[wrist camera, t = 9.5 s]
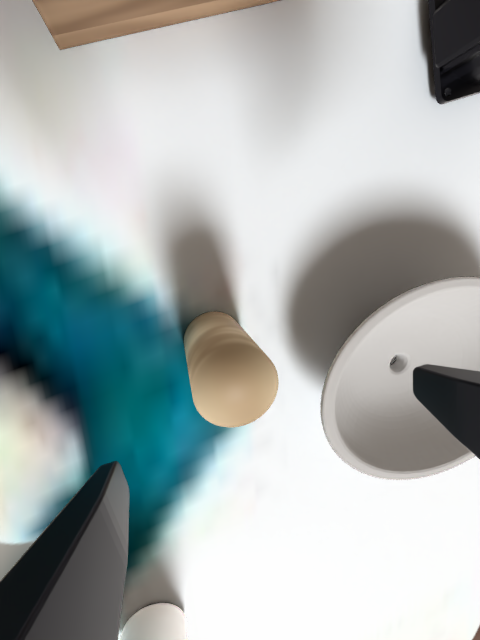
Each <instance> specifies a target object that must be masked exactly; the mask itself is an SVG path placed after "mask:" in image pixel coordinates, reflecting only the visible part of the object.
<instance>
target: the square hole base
mask: <svg viewBox="0 0 480 640" xmlns="http://www.w3.org/2000/svg"><path fill="white" fill-rule="evenodd" d="M32 1H33V2H34V4H35V6H36V8H37V10H38V11H39V13H40V15H41V17H42V19H43V20H44V22H45V24H46V26H47V28H48V29H49V31H50V33H51V35H52V37H53V38H54V40H55V42H56V44H57V46H58V47H59V49H60V50H61V49H66V48H70V47H75V46H79V45H84V44H88V43H93V42H97V41H102V40H106V39H111V38H115V37H120V36H124V35H128V34H133V33H137V32H142V31H146V30H151V29H155V28H160V27H164V26H169V25H173V24H178V23H182V22H187V21H191V20H195V19H200V18H204V17H209V16H213V15H218V14H222V13H227V12H231V11H236V10H240V9H245V8H249V7H253V6H258V5H262V4H267V3H271V2H276V1H280V0H32Z"/></svg>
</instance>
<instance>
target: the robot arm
mask: <svg viewBox="0 0 480 640" xmlns="http://www.w3.org/2000/svg"><path fill="white" fill-rule="evenodd" d="M428 2H429V15H430V28H431V41H432V54H433V67H434V80H435V94H436V100H437V102H438V103H439V104H445V103H448V102H451V101H455V100H458V99H461V98H465V97H468V96H471V95H474V94H478V93H480V0H428ZM445 94H446V95H445ZM413 393H414V396H415V397H416V398H417V400H418V401H419V402H420V403H421V404H422V405H423V406H424V407H425V408H426V409H427V410H428V411H429V412H430V413H431V414H432V415H433V416H434V417H435V418H436V419H437V420H438V421H439V422H440V423H441V424H442V425H443V426H444V427H445V428H446V429H447V430H448V431H449V432H450V433H451V434H452V435H453V436H454V437H455V438H456V439H457V440H458V441H459V442H460V443H462V444H463V445H464V446H465V447H466V448H467V449H469V450H470V451H471V452H472V453H473V454H474V455H475V456H477V457H478V458H479V459H480V371H474V370H467V369H459V368H452V367H445V366H438V365H431V364H424V365H421V366H418V367H415V368H414V370H413ZM128 532H129V487H128V483H127V481H126V478H125V476H124V473H123V470H122V468H121V465H120V464H119V462H117V461H114V462H111V463H107V464H104V465H102V466H100V467H99V468H98V469H97V471H96V472H95V473H94V474H93V475H92V476H91V477H90V479H89V480H88V481H87V482H86V483H85V484H84V486H83V487H82V488H81V489H80V490H79V491H78V492H77V494H76V495H75V496H74V497H73V498H72V499H71V500H70V502H69V503H68V504H67V505H66V506H65V507H64V508H63V510H62V511H61V512H60V513H59V514H58V515H57V517H56V518H55V519H54V520H53V521H52V522H51V523H50V525H49V526H48V527H47V528H46V529H45V530H44V531H43V533H42V534H41V535H40V536H39V537H38V538H37V539H36V541H35V542H34V543H33V544H32V545H31V547H30V548H29V549H28V550H27V551H26V552H25V553H24V554H23V556H22V557H21V558H20V559H19V560H18V562H16V564H15V565H14V566H13V567H12V568H11V569H10V571H9V572H8V573H7V574H6V575H5V576H4V577H3V579H2V580H1V581H0V640H118V634H119V626H120V618H121V610H122V602H123V594H124V586H125V578H126V570H127V560H128Z"/></svg>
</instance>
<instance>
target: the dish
mask: <svg viewBox="0 0 480 640" xmlns="http://www.w3.org/2000/svg"><path fill="white" fill-rule="evenodd" d="M394 356H396V361H395V362H394V364H392V365H390V362H391V360H392V358H393V357H394ZM424 364H431V365H438V366H445V367H452V368H459V369H467V370H474V371H480V277H454V278H447V279H442V280H437V281H433V282H430V283H426V284H423V285H421V286H418V287H415V288H413V289H411V290H409V291H406V292H404V293H402V294H400V295H399V296H397V297H395V298H393V299H392V300H390V301H388V302H387V303H386V304H384V305H383V306H381V307H380V308H378V309H377V310H376V311H375V312H373V313H372V314H371V315H370V316H369V317H367V318H366V319H365V320H364V321H363V322H362V323H361V324H360V325H359V326H358V327H357V328H356V329H355V330H354V332H353V333H352V334H351V335H350V336H349V337H348V339H347V340H346V341H345V343H344V344H343V346H342V347H341V348H340V350H339V352H338V353H337V355H336V357H335V358H334V360H333V362H332V364H331V366H330V369H329V371H328V374H327V376H326V379H325V382H324V386H323V390H322V396H321V420H322V425H323V429H324V433H325V435H326V438H327V440H328V442H329V444H330V446H331V447H332V449H333V450H334V452H335V453H336V454H337V455H338V456H339V457H340V458H341V459H342V460H343V461H344V462H345V463H347V464H348V465H349V466H351V467H352V468H354V469H356V470H358V471H360V472H361V473H364V474H367V475H369V476H373V477H377V478H382V479H390V480H408V479H417V478H422V477H427V476H431V475H435V474H438V473H441V472H444V471H447V470H449V469H451V468H454V467H456V466H458V465H460V464H462V463H464V462H466V461H468V460H470V459H471V458H473V457H475V455H474V454H473V453H472V452H471V451H470V450H469V449H467V448H466V447H465V446H464V445H463V444H462V443H460V442H459V441H458V440H457V439H456V438H455V437H454V436H453V435H452V434H451V433H450V432H449V431H448V430H447V429H446V428H445V427H444V426H443V425H442V424H441V423H440V422H439V421H438V420H437V419H436V418H435V417H434V416H433V415H432V414H431V413H430V412H429V411H428V410H427V409H426V408H425V407H424V406H423V405H422V404H421V403H420V402H419V401H418V400H417V398H416V397H415V396H414V393H413V370H414V368H415V367H418V366H421V365H424Z"/></svg>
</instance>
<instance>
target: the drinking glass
mask: <svg viewBox="0 0 480 640" xmlns="http://www.w3.org/2000/svg"><path fill="white" fill-rule="evenodd" d="M120 640H188V634H187V621H186V617H185V614H184V613H183V611H182V610H181V609H180V608H179V607H178V606H176V605H173V604H170V603H157V604H152V605H149V606H147V607H144V608H142V609H141V610H139V611H138V612H136V613H135V614H134V615H133V616H132V617H131V618H130V619H129V620H128V621H127V623H126V624H125V626H124V628H123V630H122V633H121V638H120Z"/></svg>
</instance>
